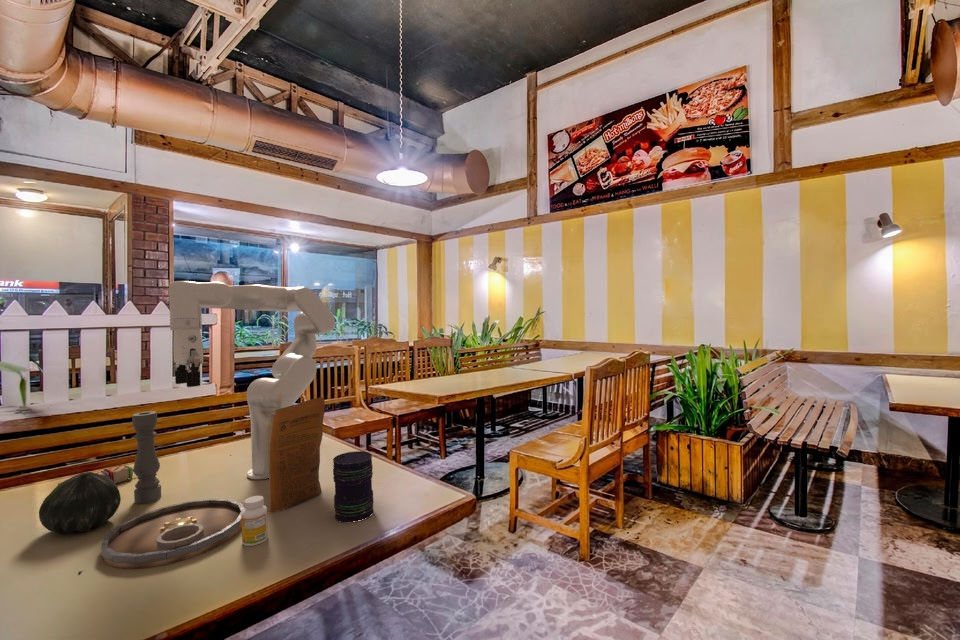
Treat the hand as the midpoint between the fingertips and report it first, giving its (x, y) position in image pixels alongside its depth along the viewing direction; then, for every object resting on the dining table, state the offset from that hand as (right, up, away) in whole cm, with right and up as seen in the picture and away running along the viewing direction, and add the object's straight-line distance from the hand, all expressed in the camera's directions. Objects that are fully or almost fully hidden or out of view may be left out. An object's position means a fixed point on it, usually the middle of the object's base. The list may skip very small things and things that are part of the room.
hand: (187, 384), depth 125 cm
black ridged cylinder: (+51, -32, -11) cm, 61 cm away
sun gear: (+11, -32, -19) cm, 39 cm away
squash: (-17, -34, -14) cm, 41 cm away
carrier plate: (+11, -33, -19) cm, 40 cm away
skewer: (-36, -34, +14) cm, 51 cm away
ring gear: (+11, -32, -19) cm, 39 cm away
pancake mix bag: (+33, -33, -2) cm, 46 cm away
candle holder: (-13, -34, +2) cm, 36 cm away
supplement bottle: (+31, -33, -23) cm, 51 cm away
